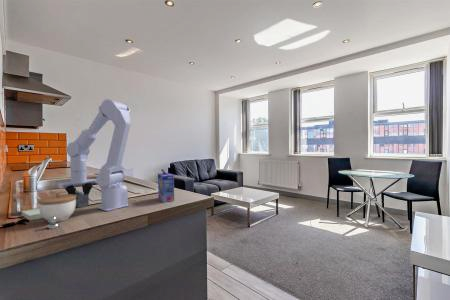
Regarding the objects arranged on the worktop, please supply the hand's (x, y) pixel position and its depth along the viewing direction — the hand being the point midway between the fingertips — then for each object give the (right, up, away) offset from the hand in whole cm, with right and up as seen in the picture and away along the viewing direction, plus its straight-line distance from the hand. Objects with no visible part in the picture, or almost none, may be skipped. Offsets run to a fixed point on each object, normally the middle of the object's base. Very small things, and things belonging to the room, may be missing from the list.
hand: (79, 202), depth 95 cm
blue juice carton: (+35, -1, +10) cm, 36 cm away
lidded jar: (+4, -2, -18) cm, 18 cm away
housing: (0, -1, 0) cm, 1 cm away
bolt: (+8, -2, -25) cm, 26 cm away
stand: (-7, -2, -13) cm, 15 cm away
